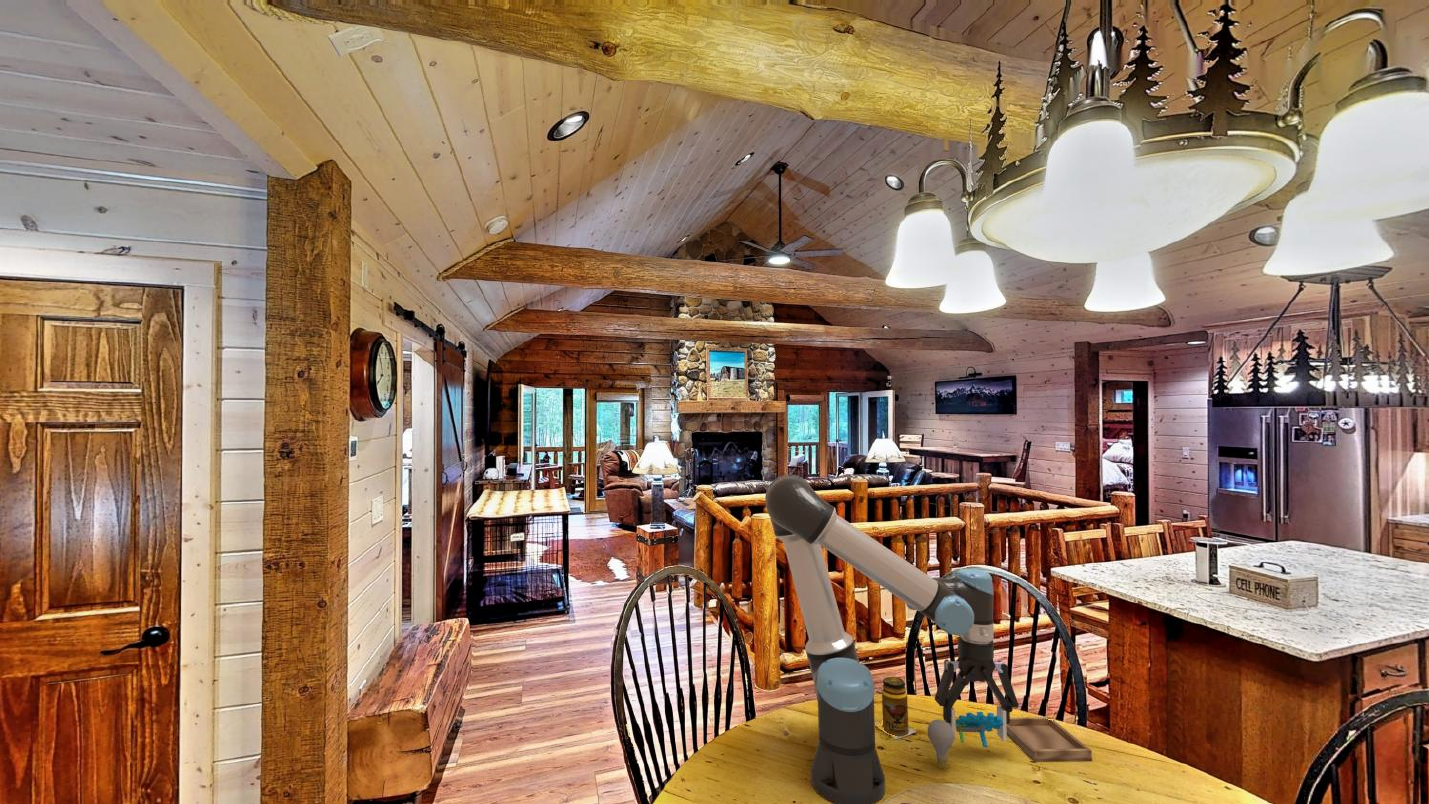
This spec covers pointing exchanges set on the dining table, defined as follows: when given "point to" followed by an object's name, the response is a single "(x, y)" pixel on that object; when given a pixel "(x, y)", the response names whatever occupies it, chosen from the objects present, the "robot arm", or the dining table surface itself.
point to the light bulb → (941, 740)
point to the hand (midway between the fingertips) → (976, 737)
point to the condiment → (895, 708)
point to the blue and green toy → (977, 724)
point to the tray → (1046, 740)
